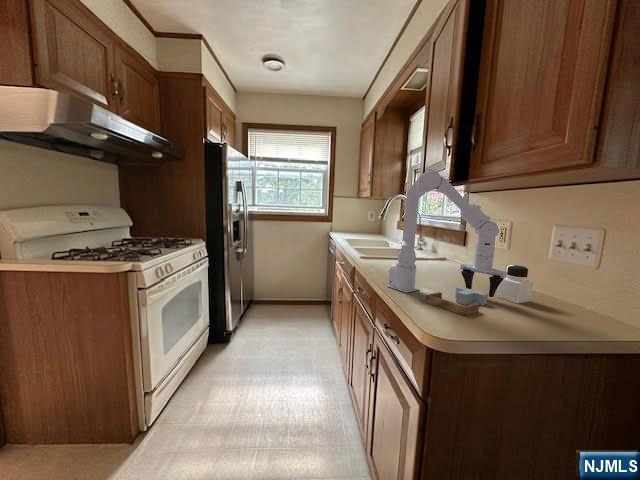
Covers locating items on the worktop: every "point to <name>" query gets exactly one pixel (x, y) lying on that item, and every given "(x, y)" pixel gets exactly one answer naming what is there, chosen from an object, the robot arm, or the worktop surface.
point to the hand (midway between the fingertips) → (479, 293)
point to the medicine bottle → (516, 285)
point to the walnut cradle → (451, 305)
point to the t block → (470, 296)
